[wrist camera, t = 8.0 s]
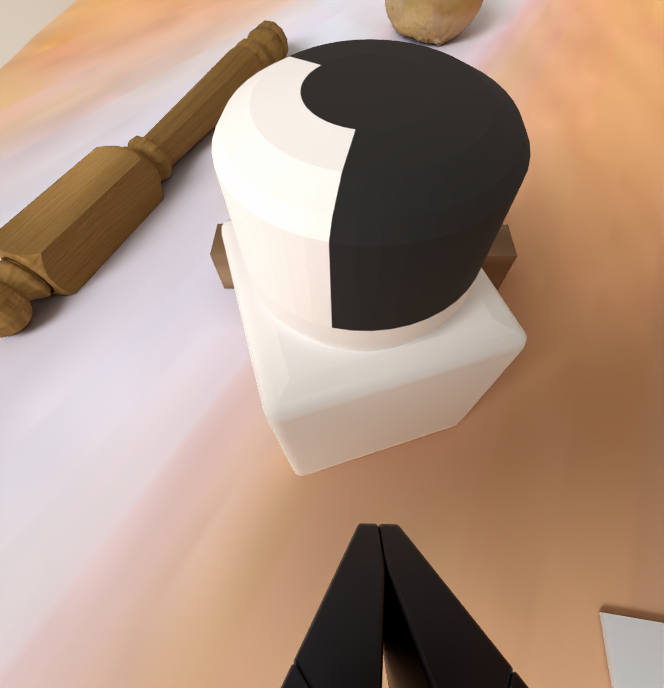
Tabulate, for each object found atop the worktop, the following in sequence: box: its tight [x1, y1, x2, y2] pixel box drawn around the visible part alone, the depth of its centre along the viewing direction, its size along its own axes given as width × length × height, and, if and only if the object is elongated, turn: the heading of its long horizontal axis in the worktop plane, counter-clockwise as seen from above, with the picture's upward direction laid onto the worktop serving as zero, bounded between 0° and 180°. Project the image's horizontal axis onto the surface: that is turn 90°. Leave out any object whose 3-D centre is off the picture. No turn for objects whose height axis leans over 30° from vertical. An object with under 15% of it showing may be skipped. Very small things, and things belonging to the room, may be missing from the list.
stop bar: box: [210, 224, 517, 290], centre depth 19 cm, size 2×14×2 cm, turn 88°
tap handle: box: [0, 21, 288, 337], centre depth 24 cm, size 3×3×30 cm
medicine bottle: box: [212, 39, 530, 476], centre depth 12 cm, size 7×7×12 cm
